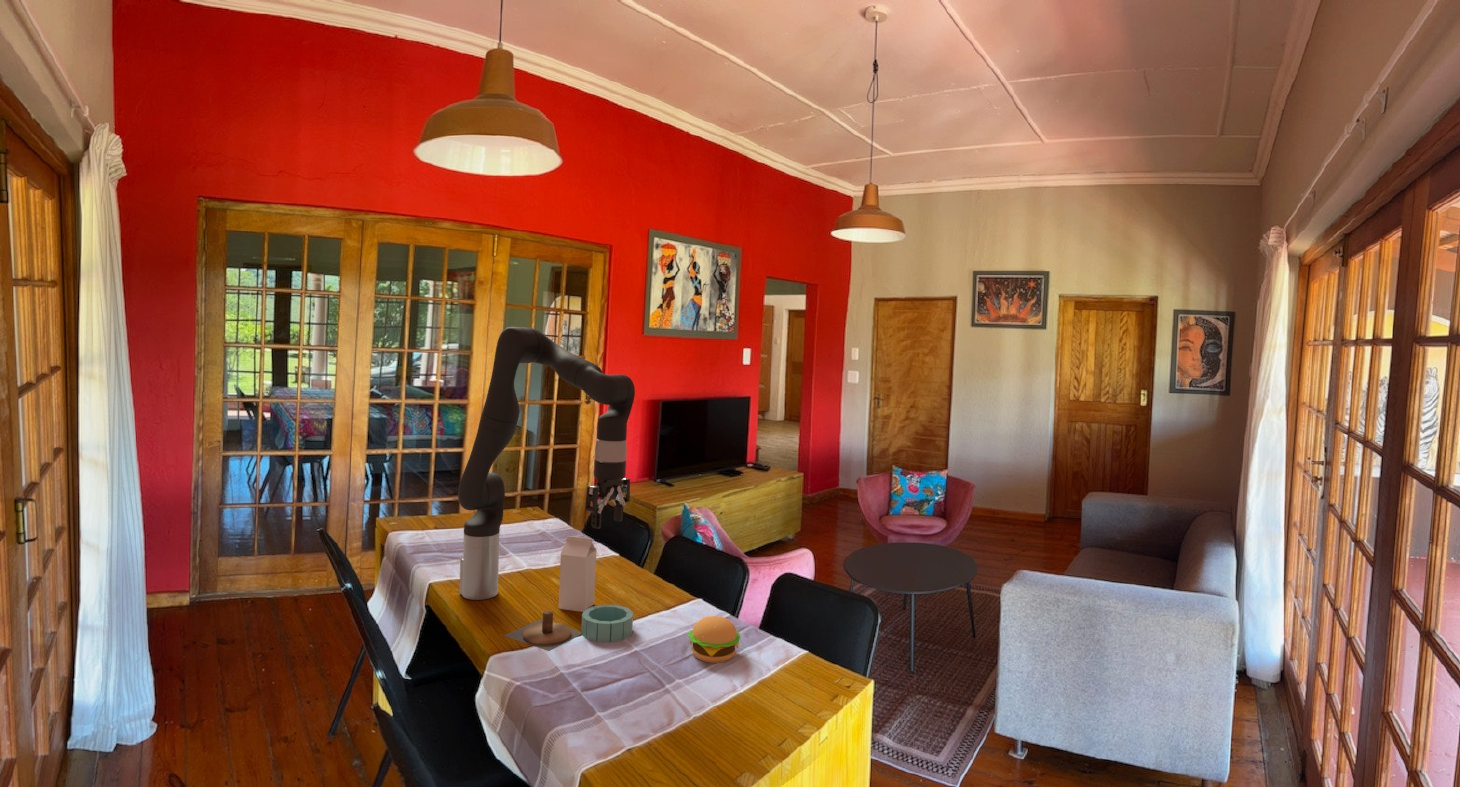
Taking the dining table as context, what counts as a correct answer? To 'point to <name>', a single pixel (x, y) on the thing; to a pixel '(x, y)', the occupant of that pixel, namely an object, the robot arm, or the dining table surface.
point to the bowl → (607, 623)
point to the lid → (547, 631)
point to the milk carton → (577, 574)
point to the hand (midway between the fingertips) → (607, 524)
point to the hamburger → (714, 639)
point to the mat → (519, 637)
